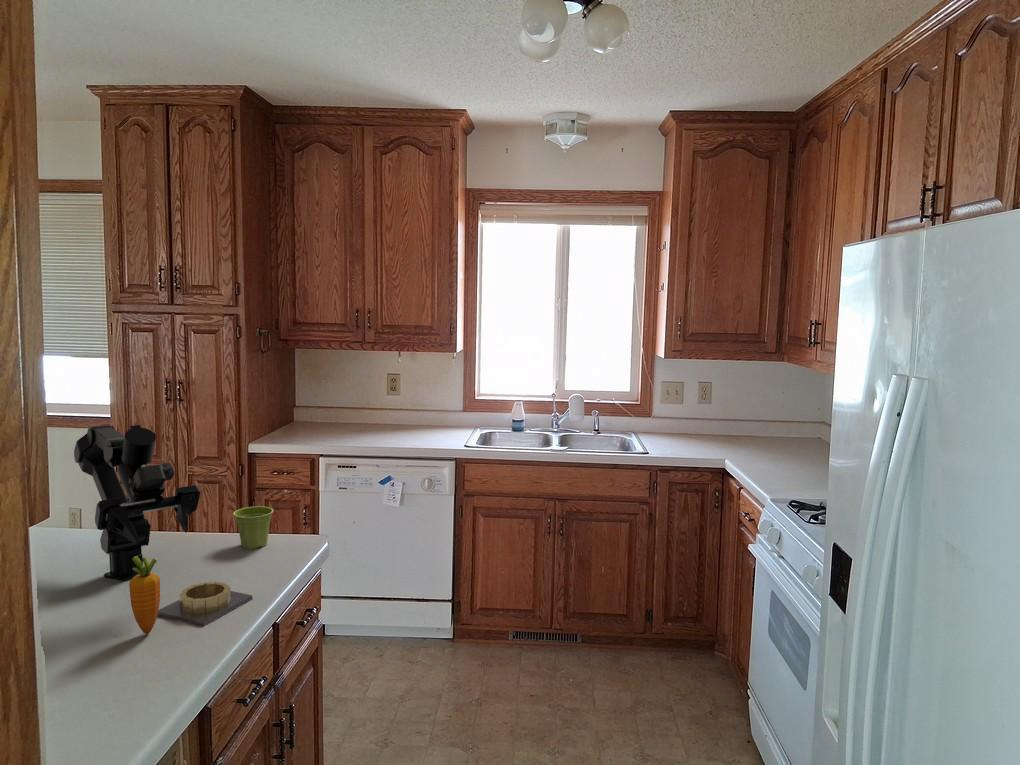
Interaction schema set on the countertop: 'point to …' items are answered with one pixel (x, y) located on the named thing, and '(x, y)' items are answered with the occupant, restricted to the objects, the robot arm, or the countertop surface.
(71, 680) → the countertop surface
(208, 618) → the collar plate
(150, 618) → the carrot
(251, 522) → the plant pot
